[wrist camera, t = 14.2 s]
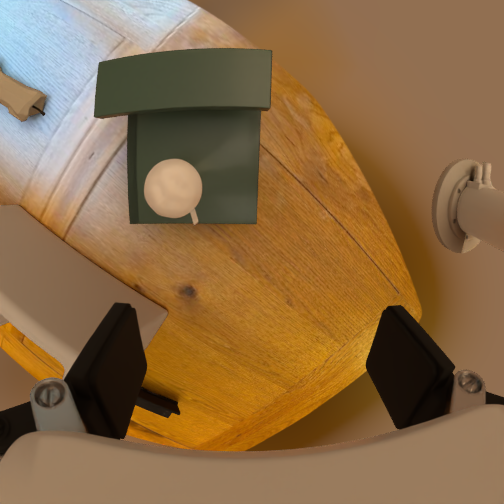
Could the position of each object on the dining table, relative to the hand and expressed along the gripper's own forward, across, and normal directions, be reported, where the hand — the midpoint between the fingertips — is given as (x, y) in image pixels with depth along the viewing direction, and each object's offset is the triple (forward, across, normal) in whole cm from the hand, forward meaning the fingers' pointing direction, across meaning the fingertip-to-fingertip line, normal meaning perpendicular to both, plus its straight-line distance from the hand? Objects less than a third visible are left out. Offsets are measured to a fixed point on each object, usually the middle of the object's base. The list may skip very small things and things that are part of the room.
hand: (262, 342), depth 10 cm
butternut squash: (+29, +40, -20) cm, 53 cm away
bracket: (+29, +30, +11) cm, 43 cm away
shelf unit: (+29, +6, -7) cm, 30 cm away
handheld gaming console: (+29, +18, +38) cm, 51 cm away
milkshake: (+21, +6, -3) cm, 22 cm away
